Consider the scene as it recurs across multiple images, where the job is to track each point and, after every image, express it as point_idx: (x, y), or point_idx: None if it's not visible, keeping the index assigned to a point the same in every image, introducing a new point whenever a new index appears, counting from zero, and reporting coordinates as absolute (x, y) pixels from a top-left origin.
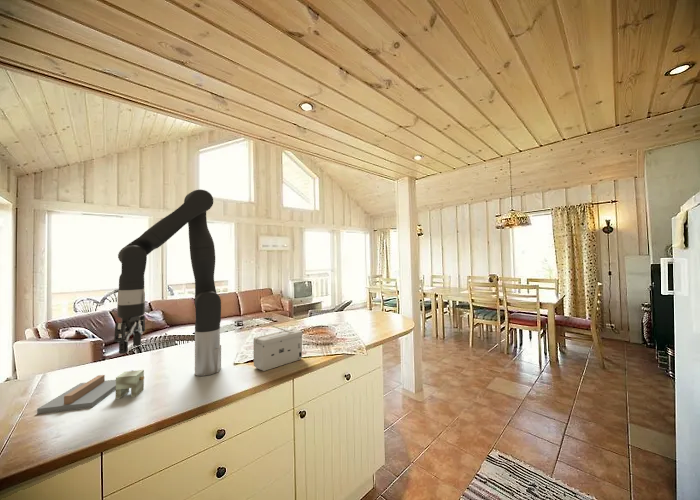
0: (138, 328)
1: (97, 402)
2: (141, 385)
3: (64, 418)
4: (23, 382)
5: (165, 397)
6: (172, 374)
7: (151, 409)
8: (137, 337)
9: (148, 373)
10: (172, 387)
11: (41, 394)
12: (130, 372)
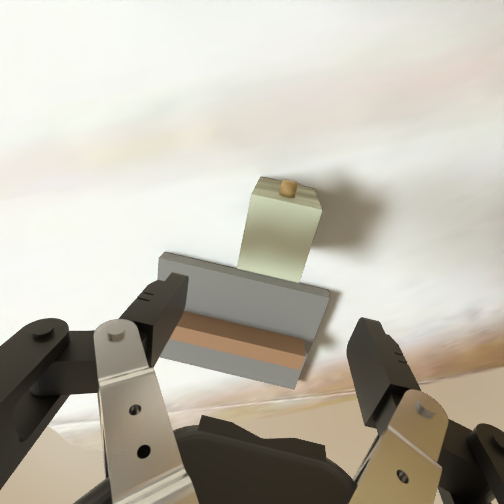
0: (165, 417)
1: (305, 285)
2: (275, 184)
3: None
4: (88, 439)
5: (397, 66)
6: (131, 88)
7: (487, 102)
8: (159, 330)
9: (94, 194)
10: (295, 55)
11: (174, 399)
12: (260, 243)
